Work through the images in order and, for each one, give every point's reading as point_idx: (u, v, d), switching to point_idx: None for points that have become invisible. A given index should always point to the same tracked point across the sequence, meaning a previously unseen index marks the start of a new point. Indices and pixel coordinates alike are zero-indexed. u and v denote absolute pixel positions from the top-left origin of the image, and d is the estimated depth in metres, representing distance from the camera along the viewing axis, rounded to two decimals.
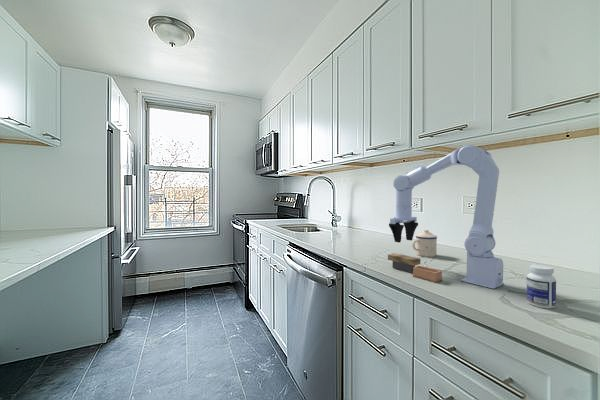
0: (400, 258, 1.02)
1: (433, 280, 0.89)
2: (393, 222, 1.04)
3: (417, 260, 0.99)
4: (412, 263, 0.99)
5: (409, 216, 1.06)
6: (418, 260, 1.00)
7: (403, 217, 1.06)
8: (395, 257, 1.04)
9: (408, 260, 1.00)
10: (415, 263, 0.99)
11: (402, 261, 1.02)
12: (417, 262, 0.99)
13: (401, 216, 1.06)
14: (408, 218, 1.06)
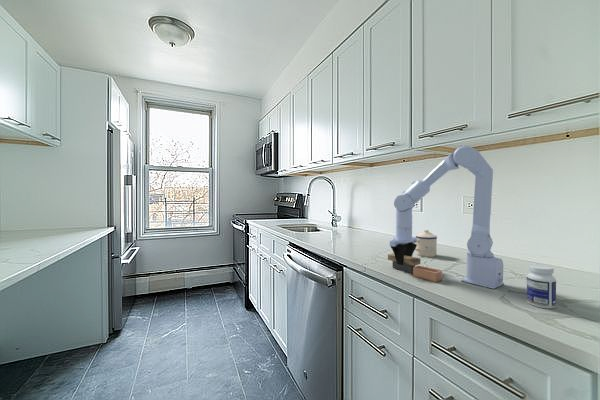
0: None
1: (433, 280, 0.89)
2: (393, 244, 0.99)
3: (417, 260, 0.99)
4: (412, 263, 0.99)
5: (409, 238, 1.01)
6: (418, 260, 1.00)
7: (403, 239, 1.01)
8: None
9: (408, 260, 1.00)
10: (415, 263, 0.99)
11: None
12: (417, 262, 0.99)
13: (401, 238, 1.01)
14: (408, 240, 1.01)
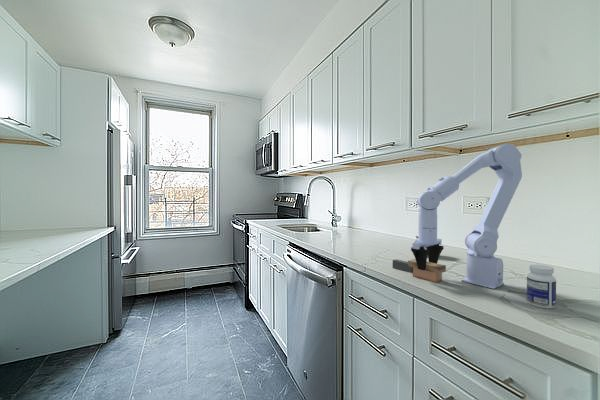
0: None
1: (433, 280, 0.89)
2: (417, 247, 0.88)
3: (442, 267, 0.89)
4: (437, 271, 0.88)
5: (435, 239, 0.90)
6: (443, 267, 0.89)
7: (428, 241, 0.90)
8: None
9: (432, 268, 0.90)
10: (440, 271, 0.88)
11: (425, 268, 0.91)
12: (442, 269, 0.89)
13: (425, 240, 0.91)
14: (434, 242, 0.90)
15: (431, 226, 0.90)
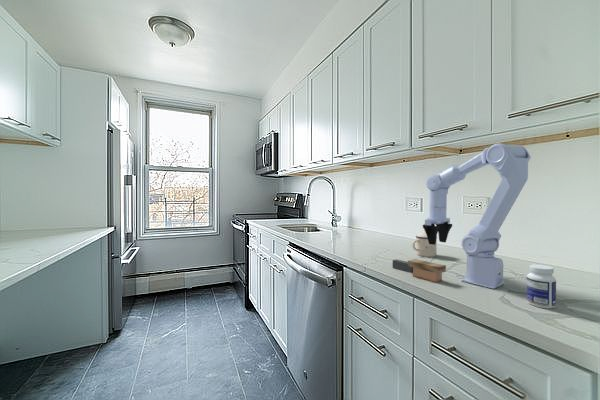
0: (423, 265, 0.92)
1: (433, 280, 0.89)
2: (428, 223, 0.99)
3: (442, 267, 0.89)
4: (437, 271, 0.88)
5: (444, 217, 1.02)
6: (443, 267, 0.89)
7: (438, 218, 1.01)
8: (417, 264, 0.94)
9: (432, 268, 0.90)
10: (440, 271, 0.88)
11: (425, 268, 0.91)
12: (442, 269, 0.89)
13: (435, 217, 1.02)
14: (443, 219, 1.01)
15: (433, 205, 1.02)
